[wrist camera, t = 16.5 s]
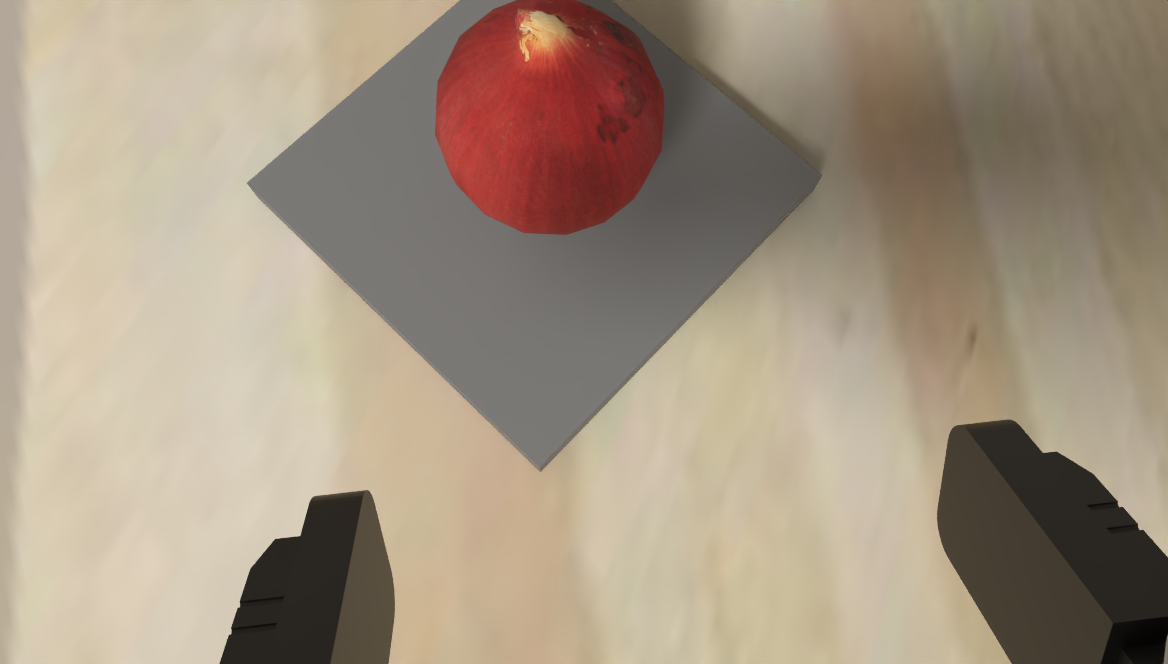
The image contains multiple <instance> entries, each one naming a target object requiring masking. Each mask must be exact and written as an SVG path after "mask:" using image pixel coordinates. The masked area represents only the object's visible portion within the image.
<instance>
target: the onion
mask: <svg viewBox="0 0 1168 664" xmlns="http://www.w3.org/2000/svg"><path fill="white" fill-rule="evenodd" d="M663 123H664V90H663V88H662V86H661V83H660V81H659V79H658V77H657V75H656V73H655V70H654V68H653V66H652V64H651V62H650V59H649V57H648V55H647V53H646V51H645V49H644V46H643V44H642V42H641V40H640V38H639V37H638V36H637V35H636V34H635V33H634V32H633V31H631V30H630V29H629V28H627V27H626V26H624V25H622V24H621V23H619V22H617V21H616V20H614V19H613V18H611V17H610V16H608V15H607V14H606V13H604V12H602V11H600V10H598V9H596V8H594V7H592V6H590V5H587V4H584V3H582V2H579V1H576V0H516V1H513V2H510V3H508V4H505V5H503V6H500V7H497V8H495V9H493V10H492V11H490V12H489V13H488V14H486V15H485V16H484V17H483V18H481V19H480V20H479V21H478V22H476V23H475V24H474V25H473V26H471V27H470V28H469V29H468V30H466V31H465V32H464V33H463V34H462V35H460V36H459V38H458V40H457V42H456V44H455V46H454V48H453V50H452V52H451V55H450V57H449V59H448V61H447V63H446V65H445V67H444V69H443V71H442V73H441V75H440V77H439V79H438V81H437V95H436V122H435V136H436V139H437V141H438V144H439V146H440V149H441V152H442V154H443V157H444V159H445V162H446V164H447V167H448V170H449V172H450V174H451V176H452V178H453V180H454V182H455V184H456V185H457V186H458V187H459V188H460V189H461V190H462V191H463V192H464V193H465V195H466V196H467V197H468V198H469V199H470V200H471V201H472V202H473V203H474V204H475V205H476V206H477V207H478V208H479V209H480V210H481V211H482V212H483V213H484V214H485V215H487V216H489V217H491V218H493V219H495V220H497V221H499V222H501V223H503V224H505V225H508V226H510V227H512V228H514V229H516V230H518V231H520V232H522V233H531V234H557V235H568V234H571V233H574V232H577V231H580V230H583V229H586V228H589V227H592V226H595V225H598V224H601V223H604V222H606V221H607V220H608V219H609V218H611V217H612V216H613V215H615V214H616V213H617V212H618V211H620V210H621V209H622V208H623V207H625V206H626V205H627V204H628V203H630V202H631V201H632V200H634V199H635V197H636V195H637V194H638V192H639V191H640V189H641V188H642V186H643V184H644V182H645V180H646V178H647V177H648V175H649V173H650V171H651V169H652V167H653V165H654V163H655V162H656V160H657V158H658V156H659V154H660V152H661V150H662V139H663Z"/></svg>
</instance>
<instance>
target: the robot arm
mask: <svg viewBox="0 0 1168 664" xmlns="http://www.w3.org/2000/svg"><path fill="white" fill-rule="evenodd" d="M937 521H938V530H939V534H940V538H941V542H942V545H943V548H944V550H945V552H946V554H947V556H948V558H949V560H950V562H951V563H952V565H953V567H954V568H955V570H956V572H957V573H958V575H959V576H960V578H961V580H962V581H963V583H964V585H965V586H966V588H967V590H968V591H969V593H970V595H971V596H972V598H973V600H974V601H975V603H976V605H977V606H978V608H979V610H980V611H981V613H982V615H983V616H984V618H985V620H986V621H987V623H988V625H989V626H990V628H991V630H992V631H993V633H994V635H995V636H996V638H997V640H998V641H999V643H1000V645H1001V646H1002V648H1003V650H1004V651H1005V653H1006V655H1007V656H1008V658H1009V660H1010V661H1011V663H1012V664H1168V557H1167V556H1166V555H1165V554H1164V553H1163V552H1162V551H1161V549H1160V548H1159V547H1158V546H1157V545H1156V544H1155V543H1154V542H1153V540H1152V539H1151V538H1150V537H1149V536H1148V535H1147V534H1146V533H1145V531H1144V530H1139V529H1138V524H1137V523H1136V521H1135V520H1134V519H1133V518H1132V517H1131V516H1130V515H1129V514H1128V512H1127V511H1126V510H1125V509H1124V508H1123V507H1119V506H1118V501H1117V500H1116V499H1115V498H1114V497H1113V496H1112V495H1111V493H1110V492H1109V491H1108V490H1107V489H1106V488H1105V487H1104V486H1103V485H1102V483H1101V482H1100V481H1099V480H1098V479H1097V478H1096V477H1095V476H1094V474H1092V473H1091V472H1089V471H1087V470H1086V469H1084V468H1083V467H1081V466H1079V465H1078V464H1076V463H1074V462H1073V461H1071V460H1069V459H1068V458H1066V457H1065V456H1063V455H1061V454H1060V453H1058V452H1049V453H1042V451H1041V450H1040V449H1039V448H1038V447H1037V446H1036V444H1035V443H1034V442H1033V441H1032V440H1031V438H1030V437H1029V436H1028V435H1027V434H1026V433H1025V431H1024V430H1023V429H1022V428H1021V427H1020V426H1019V425H1018V424H1017V423H1016V422H1015V421H1012V420H1000V421H992V422H983V423H974V424H965V425H957V426H955V427H954V428H952V430H951V432H950V434H949V438H948V444H947V450H946V457H945V464H944V470H943V477H942V483H941V490H940V496H939V503H938V511H937ZM394 613H395V597H394V584H393V577H392V572H391V568H390V564H389V560H388V556H387V552H386V548H385V544H384V540H383V536H382V531H381V527H380V523H379V519H378V515H377V511H376V507H375V503H374V500H373V497H372V495H371V493H370V492H369V491H368V490H365V491H356V492H347V493H339V494H330V495H321V496H314V497H313V498H312V499H311V501H310V503H309V506H308V510H307V514H306V518H305V521H304V525H303V529H302V532H301V536H298V537H289V538H280V539H275V540H274V541H273V542H272V544H271V545H270V546H269V547H268V548H267V550H266V551H265V552H264V553H263V554H262V556H261V557H260V558H259V559H258V560H257V562H256V563H255V564H254V565H253V566H252V568H251V569H250V572H249V575H248V578H247V581H246V584H245V587H244V590H243V593H242V596H241V599H240V608H238V609H237V612H236V615H235V618H234V621H233V624H232V627H231V629H232V634H231V635H229V636H228V639H227V643H226V646H225V649H224V652H223V655H222V658H221V661H220V664H388V663H389V655H390V647H391V639H392V632H393V624H394Z"/></svg>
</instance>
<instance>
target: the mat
mask: <svg viewBox="0 0 1168 664" xmlns="http://www.w3.org/2000/svg"><path fill="white" fill-rule="evenodd" d="M513 1H516V0H460V1H459V2H458V3H456V4H455V5H454V6H453V7H452V8H451V9H449V10H448V11H447V12H446V13H445V14H444V15H442V16H441V17H440V18H439V19H438V20H437V21H435V22H434V23H433V24H432V25H431V26H430V27H428V28H427V29H426V30H425V31H424V32H423V33H421V34H420V35H419V36H418V37H417V38H416V39H414V40H413V41H412V42H411V43H410V44H409V45H407V46H406V47H405V48H404V49H403V50H402V51H400V52H399V53H398V54H397V55H396V56H395V57H393V58H392V59H391V60H390V61H389V62H388V63H386V64H385V65H384V66H383V67H382V68H381V69H379V70H378V71H377V72H376V73H375V74H374V75H372V76H371V77H370V78H369V79H368V80H367V81H365V82H364V83H363V84H362V85H361V86H360V87H358V88H357V89H356V90H355V91H354V92H352V93H351V94H350V95H349V96H348V97H347V98H345V99H344V100H343V101H342V102H341V103H340V104H338V105H337V106H336V107H335V108H334V109H333V110H331V111H330V112H329V113H328V114H327V115H326V116H324V117H323V118H322V119H321V120H320V121H319V122H317V123H316V124H315V125H314V126H313V127H312V128H310V129H309V130H308V131H307V132H306V133H305V134H303V135H302V136H301V137H300V138H299V139H298V140H296V141H295V142H294V143H293V144H292V145H291V146H289V147H288V148H287V149H286V150H285V151H284V152H282V153H281V154H280V155H279V156H278V157H277V158H275V159H274V160H273V161H272V162H271V163H270V164H268V165H267V166H266V167H265V168H264V169H263V170H261V171H260V172H259V173H258V174H257V175H256V176H254V177H253V178H252V179H251V180H250V181H249V182H247V184H248V185H249V187H250V188H251V189H252V191H253V192H254V193H255V194H256V196H257V197H258V198H259V199H260V200H261V201H262V202H263V203H264V204H265V205H266V206H267V207H268V208H269V209H270V210H271V211H272V212H273V213H274V214H275V215H277V216H278V217H279V218H280V219H281V220H282V221H283V222H284V223H285V224H286V225H287V226H288V227H289V228H290V229H291V230H292V231H293V232H294V233H295V234H296V235H297V236H298V237H299V238H300V239H301V240H302V241H303V242H304V243H305V244H306V245H307V246H308V247H309V248H310V249H312V250H313V251H314V252H315V253H316V254H317V255H318V256H319V257H320V258H321V259H322V260H323V261H324V262H325V263H326V264H327V265H328V266H329V267H330V268H331V269H332V270H333V271H334V272H335V273H336V274H337V275H338V276H339V277H340V278H341V279H342V280H343V281H344V282H345V283H347V284H348V285H349V286H350V287H351V288H352V289H353V290H354V291H355V292H356V293H357V294H358V295H359V296H360V297H361V298H362V299H363V300H364V301H365V302H366V303H367V304H368V305H369V306H370V307H371V308H372V309H373V310H374V311H375V312H376V313H377V314H378V315H379V316H380V317H381V318H383V319H384V320H385V321H386V322H387V323H388V324H389V325H390V326H391V327H392V328H393V329H394V330H395V331H396V332H397V333H398V334H399V335H400V336H401V337H402V338H403V339H404V340H405V341H406V342H407V343H408V344H409V345H410V346H411V347H412V348H413V349H414V350H415V351H416V352H418V353H419V354H420V355H421V356H422V357H423V358H424V359H425V360H426V361H427V362H428V363H429V364H430V365H431V366H432V367H433V368H434V369H435V370H436V371H437V372H438V373H439V374H440V375H441V376H442V377H443V378H444V379H445V380H446V381H447V382H448V383H449V384H450V385H451V386H453V387H454V388H455V389H456V390H457V391H458V392H459V393H460V394H461V395H462V396H463V397H464V398H465V399H466V400H467V401H468V402H469V403H470V404H471V405H472V406H473V407H474V408H475V409H476V410H477V411H478V412H479V413H480V414H481V415H482V416H483V417H484V418H485V419H486V420H487V421H489V422H490V423H491V424H492V425H493V426H494V427H495V428H496V429H497V430H498V431H499V432H500V433H501V434H502V435H503V436H504V437H505V438H506V439H507V440H508V441H509V442H510V443H511V444H512V445H513V446H514V447H515V448H516V449H517V450H518V451H519V452H520V453H521V454H522V455H524V456H525V457H526V458H527V459H528V460H529V461H530V462H531V463H532V464H533V465H534V466H535V467H536V468H537V469H538V470H539V471H540V472H541V471H542V470H543V469H544V468H545V467H546V466H547V465H548V464H549V463H550V461H551V460H552V459H553V458H554V457H555V456H556V455H557V454H558V453H559V452H560V451H561V450H562V449H563V448H564V447H565V446H566V445H567V444H568V443H569V442H570V441H571V440H572V439H573V438H574V437H575V436H576V435H577V434H578V433H579V431H580V430H581V429H582V428H583V427H584V426H585V425H586V424H587V423H588V422H589V421H590V420H591V419H592V418H593V417H594V416H595V415H596V414H597V413H598V412H599V411H600V410H601V409H602V408H603V407H604V406H605V405H606V404H607V403H608V401H609V400H610V399H611V398H612V397H613V396H614V395H615V394H616V393H617V392H618V391H619V390H620V389H621V388H622V387H623V386H624V385H625V384H626V383H627V382H628V381H629V380H630V379H631V378H632V377H633V376H634V375H635V374H636V373H637V372H638V370H639V369H640V368H641V367H642V366H643V365H644V364H645V363H646V362H647V361H648V360H649V359H650V358H651V357H652V356H653V355H654V354H655V353H656V352H657V351H658V350H659V349H660V348H661V347H662V346H663V345H664V344H665V343H666V342H667V340H668V339H669V338H670V337H671V336H672V335H673V334H674V333H675V332H676V331H677V330H678V329H679V328H680V327H681V326H682V325H683V324H684V323H685V322H686V321H687V320H688V319H689V318H690V317H691V316H692V315H693V314H694V313H695V312H696V311H697V309H698V308H699V307H700V306H701V305H702V304H703V303H704V302H705V301H706V300H707V299H708V298H709V297H710V296H711V295H712V294H713V293H714V292H715V291H716V290H717V289H718V288H719V287H720V286H721V285H722V284H723V283H724V282H725V281H726V279H727V278H728V277H729V276H730V275H731V274H732V273H733V272H734V271H735V270H736V269H737V268H738V267H739V266H740V265H741V264H742V263H743V262H744V261H745V260H746V259H747V258H748V257H749V256H750V255H751V254H752V253H753V252H754V251H755V249H756V248H757V247H758V246H759V245H760V244H761V243H762V242H763V241H764V240H765V239H766V238H767V237H768V236H769V235H770V234H771V233H772V232H773V231H774V230H775V229H776V228H777V227H778V226H779V225H780V224H781V223H782V222H783V221H784V220H785V218H786V217H787V216H788V215H789V214H790V213H791V212H792V211H793V210H794V209H795V208H796V207H797V206H798V205H799V204H800V203H801V202H802V201H803V200H804V199H805V198H806V197H807V196H808V195H809V194H810V193H811V192H812V191H813V190H814V188H815V186H816V185H817V183H818V181H819V180H820V178H821V176H822V175H821V174H820V173H819V172H818V171H817V170H815V169H814V168H813V167H812V166H811V165H809V164H808V163H807V162H806V161H804V160H803V159H802V158H801V157H800V156H798V155H797V154H796V153H795V152H794V151H792V150H791V149H790V148H789V147H788V146H786V145H785V144H784V143H783V142H781V141H780V140H779V139H778V138H777V137H775V136H774V135H773V134H772V133H771V132H769V131H768V130H767V129H766V128H765V127H763V126H762V125H761V124H760V123H759V122H757V121H756V120H755V119H754V118H752V117H751V116H750V115H749V114H748V113H746V112H745V111H744V110H743V109H742V108H740V107H739V106H738V105H737V104H736V103H734V102H733V101H732V100H731V99H730V98H728V97H727V96H726V95H725V94H723V93H722V92H721V91H720V90H719V89H717V88H716V87H715V86H714V85H713V84H711V83H710V82H709V81H708V80H707V79H705V78H704V77H703V76H702V75H700V74H699V73H698V72H697V71H696V70H694V69H693V68H692V67H691V66H690V65H688V64H687V63H686V62H685V61H684V60H682V59H681V58H680V57H679V56H678V55H676V54H675V53H674V52H673V51H671V50H670V49H669V48H668V47H667V46H665V45H664V44H663V43H662V42H661V41H659V40H658V39H657V38H656V37H655V36H653V35H652V34H651V33H650V32H648V31H647V30H646V29H645V28H644V27H642V26H641V25H640V24H639V23H638V22H636V21H635V20H634V19H633V18H632V17H630V16H629V15H628V14H627V13H626V12H624V11H623V10H622V9H621V8H619V7H618V6H617V5H616V4H615V3H613V2H612V1H611V0H576V1H579V2H582V3H584V4H587V5H590V6H592V7H594V8H596V9H598V10H600V11H602V12H604V13H606V14H607V15H608V16H610V17H611V18H613V19H614V20H616V21H617V22H619V23H621V24H622V25H624V26H626V27H627V28H629V29H630V30H631V31H633V32H634V33H635V34H636V35H637V36H638V37H639V38H640V40H641V42H642V44H643V46H644V49H645V51H646V53H647V55H648V57H649V59H650V62H651V64H652V66H653V68H654V70H655V73H656V75H657V77H658V79H659V81H660V83H661V86H662V88H663V90H664V123H663V139H662V150H661V152H660V154H659V156H658V158H657V160H656V162H655V163H654V165H653V167H652V169H651V171H650V173H649V175H648V177H647V178H646V180H645V182H644V184H643V186H642V188H641V189H640V191H639V192H638V194H637V195H636V197H635V199H634V200H632V201H631V202H630V203H628V204H627V205H626V206H625V207H623V208H622V209H621V210H620V211H618V212H617V213H616V214H615V215H613V216H612V217H611V218H609V219H608V220H607V221H606V222H604V223H601V224H598V225H595V226H592V227H589V228H586V229H583V230H580V231H577V232H574V233H571V234H568V235H557V234H531V233H522V232H520V231H518V230H516V229H514V228H512V227H510V226H508V225H505V224H503V223H501V222H499V221H497V220H495V219H493V218H491V217H489V216H487V215H485V214H484V213H483V212H482V211H481V210H480V209H479V208H478V207H477V206H476V205H475V204H474V203H473V202H472V201H471V200H470V199H469V198H468V197H467V196H466V195H465V193H464V192H463V191H462V190H461V189H460V188H459V187H458V186H457V185H456V184H455V182H454V180H453V178H452V176H451V174H450V172H449V170H448V167H447V164H446V162H445V159H444V157H443V154H442V152H441V149H440V146H439V144H438V141H437V139H436V136H435V122H436V95H437V81H438V79H439V77H440V75H441V73H442V71H443V69H444V67H445V65H446V63H447V61H448V59H449V57H450V55H451V52H452V50H453V48H454V46H455V44H456V42H457V40H458V38H459V36H460V35H462V34H463V33H464V32H465V31H466V30H468V29H469V28H470V27H471V26H473V25H474V24H475V23H476V22H478V21H479V20H480V19H481V18H483V17H484V16H485V15H486V14H488V13H489V12H490V11H492V10H493V9H495V8H497V7H500V6H503V5H505V4H508V3H510V2H513Z"/></svg>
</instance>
